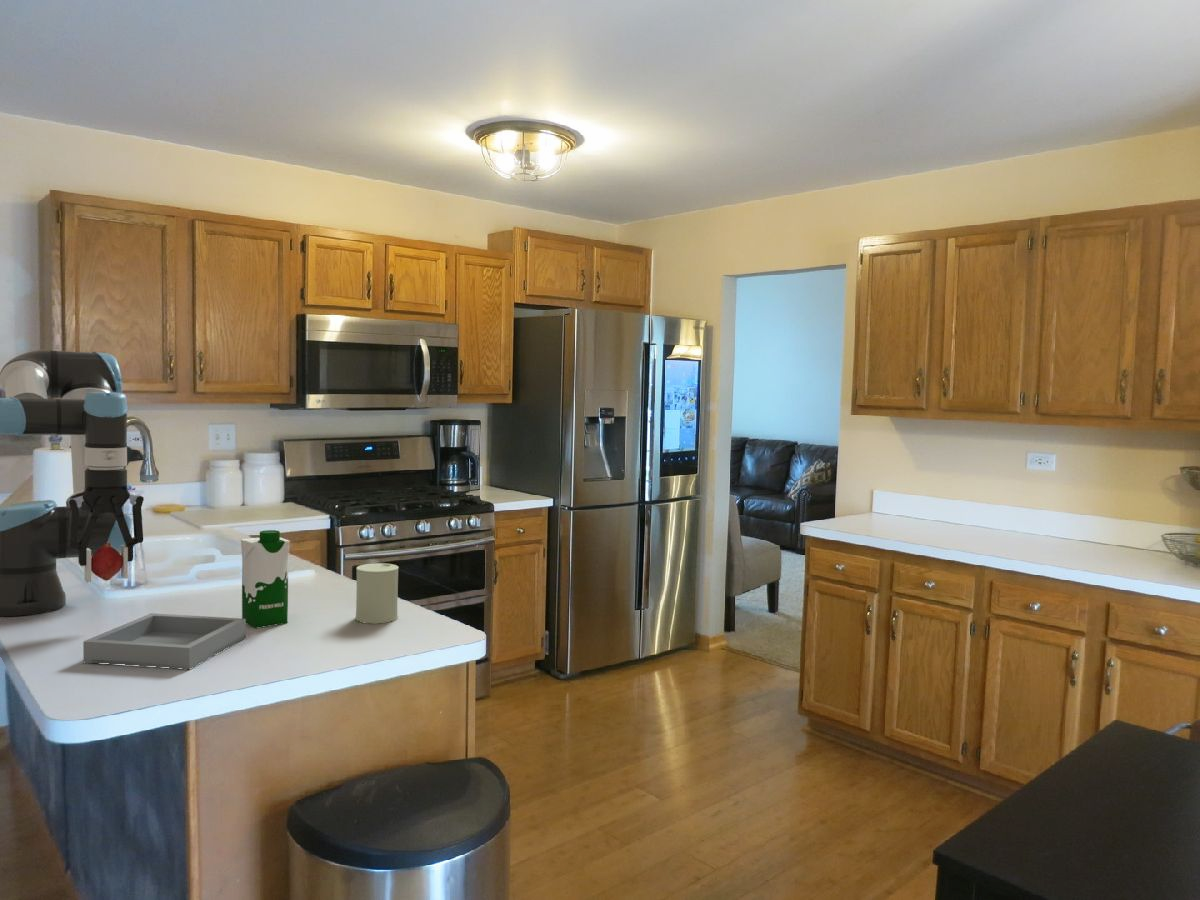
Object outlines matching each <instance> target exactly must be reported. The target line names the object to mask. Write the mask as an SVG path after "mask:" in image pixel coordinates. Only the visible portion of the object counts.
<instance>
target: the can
mask: <svg viewBox="0 0 1200 900" xmlns="http://www.w3.org/2000/svg"><path fill="white" fill-rule="evenodd" d="M399 567H400V566H398V565H397V564H393V563H381V562H378V563H377V562H376V563H366V564H361V565H358V566H357V567H356V570H355V571H356V599H355V600H356V605H355V607H356V608H355V609H356V610H355V621H356V620H357V621H356V622H358V621H360V622H359V623H361V622H365V623H364V624H368V623H381V624H386V623H385V622H388V623H391V621H392V622H395V621H396V620H397V619H398V618H399V616H398V614H399V613H398V597H399V596H398V594H399V593H398V592H399V590H398V589H399V588H398V587H399V586H398V585H399Z"/></svg>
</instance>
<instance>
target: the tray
mask: <svg viewBox="0 0 1200 900" xmlns="http://www.w3.org/2000/svg"><path fill="white" fill-rule="evenodd" d="M246 629H247V623H246V619H242V617H241V618H238V617H224V616H223V617H221V616H206V615H205V616H204V615H203V616H201V615H189V614H187V615H186V614H171V613H156V612H155V613H153V612H151V613H148V614H147V615H144V616H141V617H139V618H137V619H134V620H132V621H130V622H126V623H125V624H122V625H119V626H117V627H114V628H112V629H110V630H107V631H105V632H103V633H100V634H97V635H95V636H92V637H91V638H88V639H85V640H84V641H83V650H82V651H83V663H84V662H85V663H84V664H88V663H109V664H125V665H139V666H156V667H169V668H182V669H190V668H192V667H194V666H196V665H198V664H199V663H201V662H203V661H205V660H206V661H208V660H209V659H208V658H210V657H212V656H213V657H215V656H216V655H215V654H217V653H219V652H221V651H222V652H224V651H225V650H224V649H226V648H228V647H229V648H231V647H233V646H234V644H235V643H237V642H238V643H240V642H242V641H243V639H244V638H245V639H247V638H246V637H247V635H246V634H247V632H246V631H247V630H246ZM245 639H244V640H245ZM241 640H242V641H241ZM239 641H240V642H239ZM238 643H237V644H238ZM232 645H233V646H232ZM235 645H236V644H235ZM230 646H231V647H230ZM229 648H228V649H229ZM223 650H224V651H223ZM226 650H227V649H226ZM222 652H221V653H222ZM219 654H220V653H219ZM214 655H215V656H214ZM217 655H218V654H217ZM213 657H212V658H213ZM207 659H208V660H207ZM210 659H211V658H210ZM206 661H205V662H206ZM203 663H204V662H203ZM201 664H202V663H201ZM199 665H200V664H199ZM199 665H198V666H199ZM196 667H197V666H196ZM194 668H195V667H194ZM192 669H193V668H192ZM190 670H191V669H190Z"/></svg>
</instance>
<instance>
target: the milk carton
mask: <svg viewBox="0 0 1200 900" xmlns="http://www.w3.org/2000/svg"><path fill="white" fill-rule="evenodd" d="M280 532H281V531H280V530H275V529H274V530H271V529H269V530H267V529H266V530H262V531H261V530H260V531H259V537H253V538H252V537H251V538H242V539H240V545H241V562H242V563H241V569H242V570H241V619H246V625H249V626H250V625H251V626H250V627H252V626H253V627H252V628H254V627H255V629H258V628H257V627H260V628H264V627H263V626H265V627H270V626H269V625H271V626H276V625H275V624H277V625H282V624H281V623H283V624H287V623H288V619H289V618H288V612H289V610H288V609H289V556H290V555H289V553H290V545H291V540H288V539H285V538H283V537H281V536H280V535H281V533H280Z"/></svg>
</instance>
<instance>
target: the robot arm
mask: <svg viewBox="0 0 1200 900" xmlns="http://www.w3.org/2000/svg"><path fill="white" fill-rule="evenodd" d="M0 387H1V390H2V391H3V392H4V393H5V397H0V435H5V436H6V435H9V436H10V435H12V436H17V437H19V436H70V453H71V454H70V455H71V456H70V457H71V472H72V490H73V494H71V495H70V496H68V498H67V499H66V501H65V506H58V505H57V503H56V501H55V500H52V499H47V500H45V499H44V500H33V501H26V502H20V503H15V504H9V505H7V506H3V507H0V617H16V616H19V617H20V616H27V615H29V616H30V615H36V614H42V613H48V612H51V611H52V612H53V611H56V610H58V609H61V608H64V607H65V606H66V605H67V601H66V600H67V598H66V596H67V595H66V592H65V591H64V589H63V585H62V582H61V580H60V577H59V574H58V571H57V559H58V560H59V559H71V558H78V564H79V565H80V567H84V581H85V582H86V583H92V571H91V558H92V556H93V554H94V553H95V552H96V551H97V550H98V549H99V548H101V547H102V546H103V545H104V544H105V543H107V542H110V546H111V547H112V548H114V549H115V550H117V551H118V552H119V553H120V555H121V557H122V561H123V562H122V567H121V569H120V576H121V578H122V579H128V577H129V569H128V567H129V562H133V560H134V548H135V545H137V544H141V543H143V542H144V532H143V531H144V530H143V517H142V506H143V503H144V501H145V499H144V496H142V495H140V494H132V493H130V491H129V489H128V470H127V468H126V466H127V465H128V443H127V439H128V437H127V436H128V435H127V434H128V433H127V432H128V431H127V430H128V413H129V412H128V411H129V408H128V402H127V396H126V394H125V393H123V383H122V374H121V368H120V365H119V362H118V361H117V358H116V357H115V356H114V355H112V354H111V353H105V352H104V353H103V352H97V351H91V352H89V351H88V352H86V351H85V352H84V351H67V350H50V349H39V350H37V349H36V350H34V351H33V350H32V351H29V352H25V353H22V354H20V355H17V356H15V357H13V358H11V359H10V360H8V361H7V362H6V363H5V364H4V365H3V366H2V368H1V369H0ZM128 500H129V504H131V505H132V519H131V518H130V517H129V516H127V515H126V514H124V504H125V503H127V501H128ZM132 522H133V535H134V536H133V537H132V535H131V531H132V530H131V529H132Z"/></svg>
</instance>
